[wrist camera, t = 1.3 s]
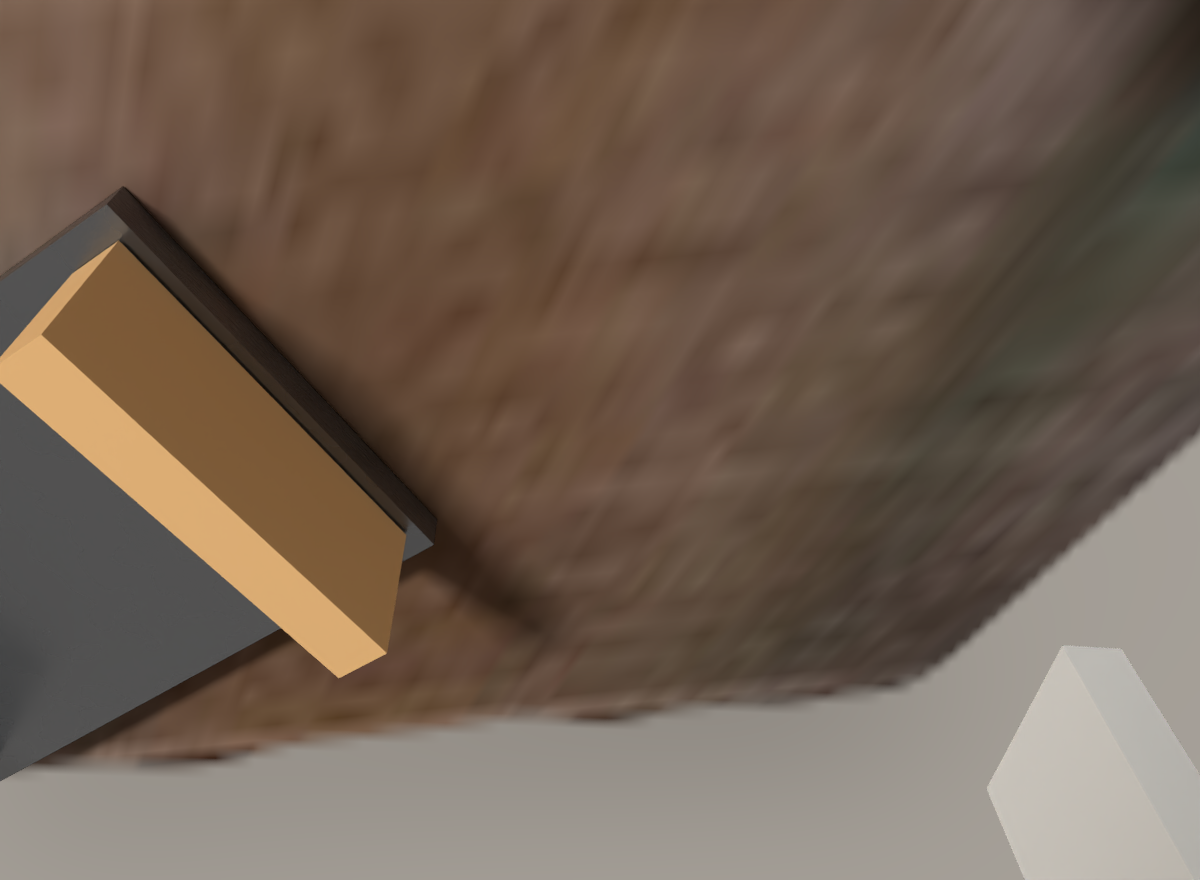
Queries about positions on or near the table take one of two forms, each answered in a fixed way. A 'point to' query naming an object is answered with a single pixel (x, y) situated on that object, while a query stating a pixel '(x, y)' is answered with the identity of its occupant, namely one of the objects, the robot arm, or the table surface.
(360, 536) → the bar
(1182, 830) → the robot arm
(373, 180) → the table surface
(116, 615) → the base
